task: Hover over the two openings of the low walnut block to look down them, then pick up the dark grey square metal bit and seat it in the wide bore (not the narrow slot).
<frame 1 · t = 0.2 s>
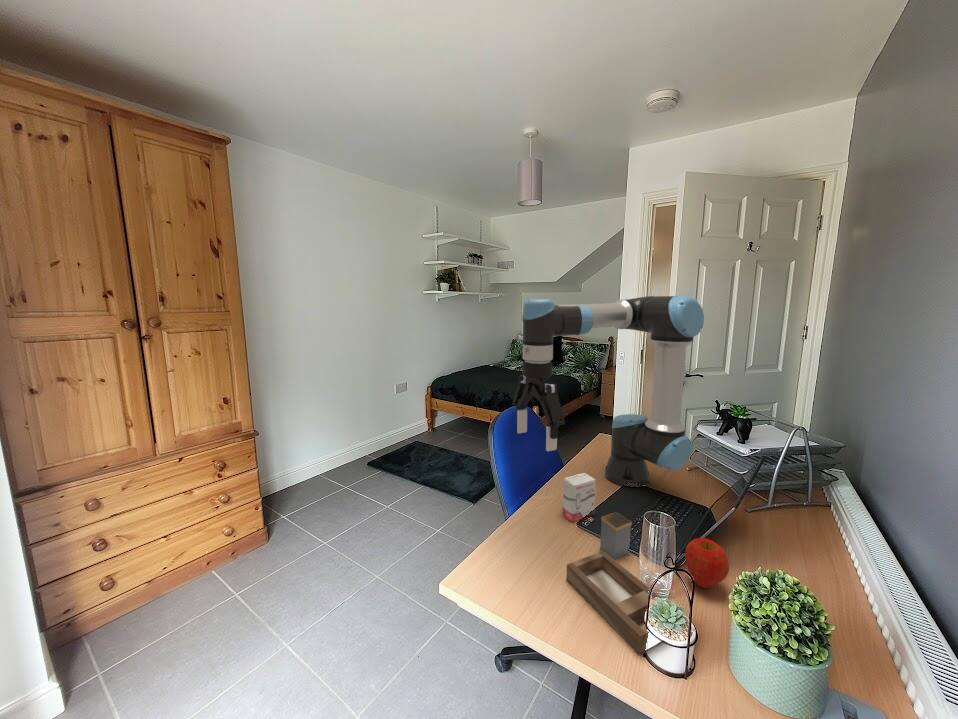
hand: (535, 440, 100), 28 cm above the table, fingers open, 13 cm apart
apple: (703, 586, 87), on the table
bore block: (618, 603, 82), on the table
ink box: (578, 515, 115), on the table
square bit: (614, 551, 99), on the table
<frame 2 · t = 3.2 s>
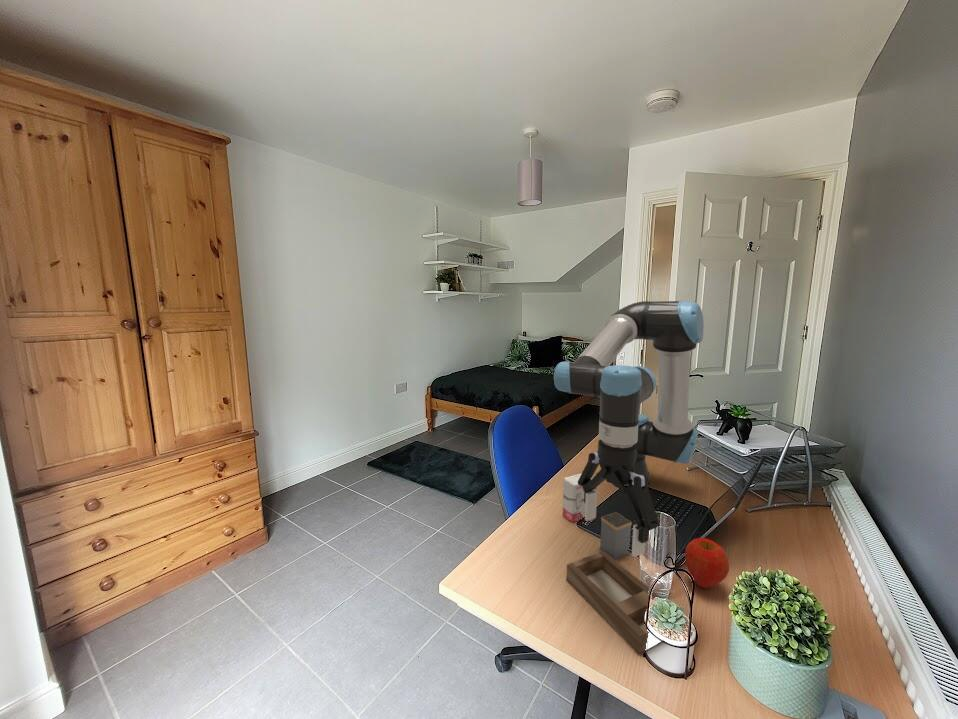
hand: (612, 535, 82), 14 cm above the table, fingers open, 13 cm apart
nothing on the table moved.
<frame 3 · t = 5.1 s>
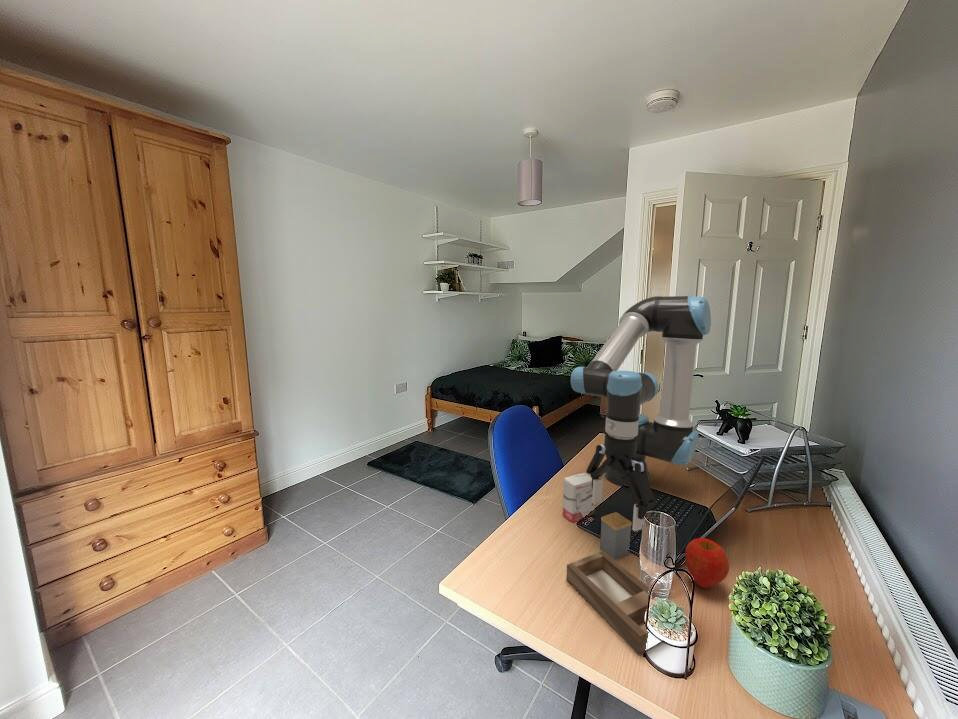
hand: (616, 514, 97), 10 cm above the table, fingers open, 13 cm apart
nothing on the table moved.
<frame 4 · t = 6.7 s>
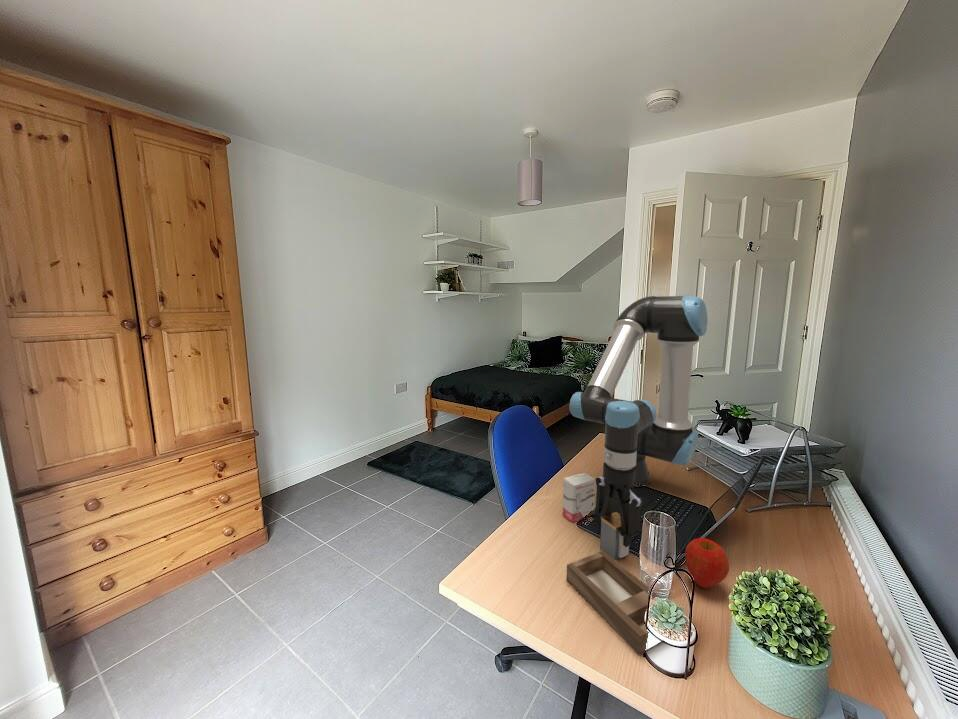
hand: (614, 548, 99), 1 cm above the table, fingers closed on square bit, 5 cm apart
square bit: (614, 551, 99), on the table, touching gripper
everything else where it was.
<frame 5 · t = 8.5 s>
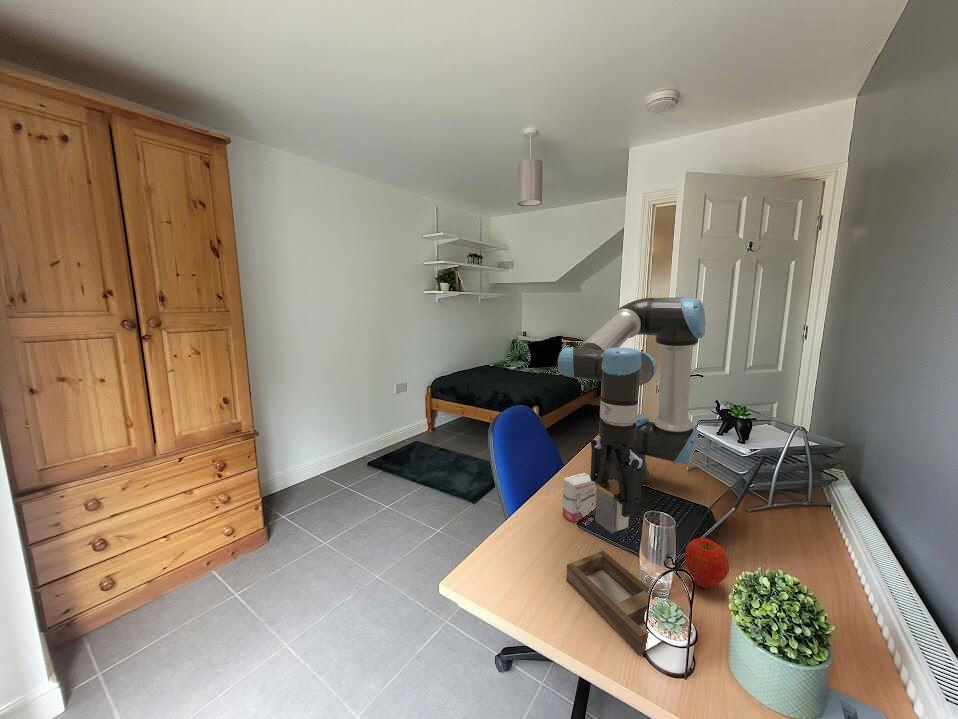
hand: (611, 520, 85), 16 cm above the table, fingers closed on square bit, 5 cm apart
square bit: (611, 524, 85), point 15 cm above the table, touching gripper
everything else where it was.
when the fingers open (3 cm above the table, at t = 10.7 s): square bit drops 2 cm, resting on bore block.
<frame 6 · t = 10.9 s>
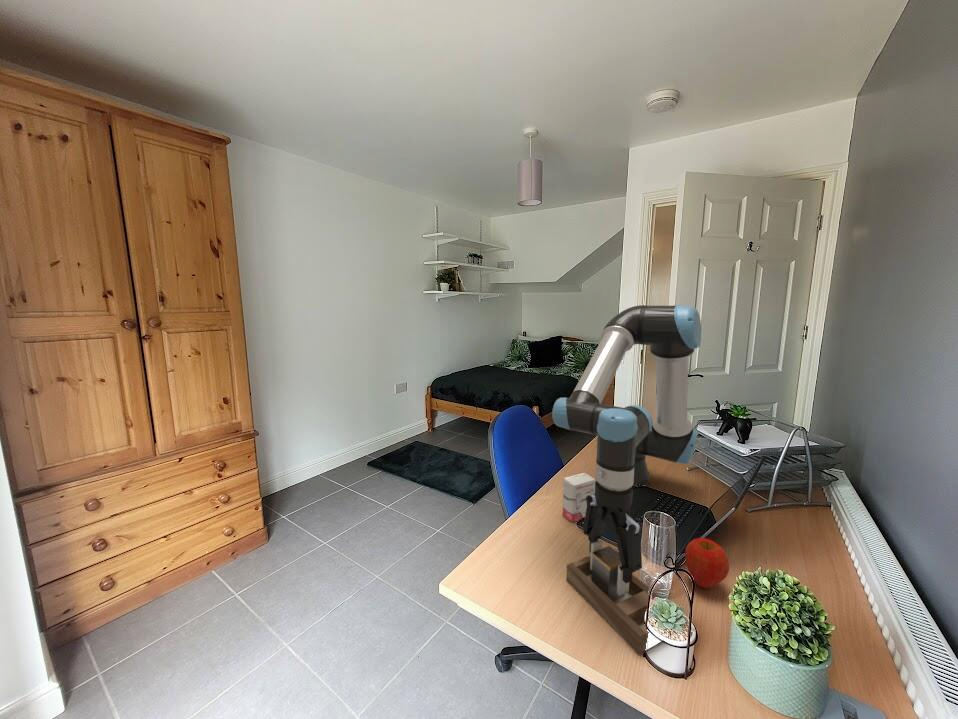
hand: (608, 579, 84), 4 cm above the table, fingers open, 7 cm apart
square bit: (607, 592, 85), resting on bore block
everything else where it was.
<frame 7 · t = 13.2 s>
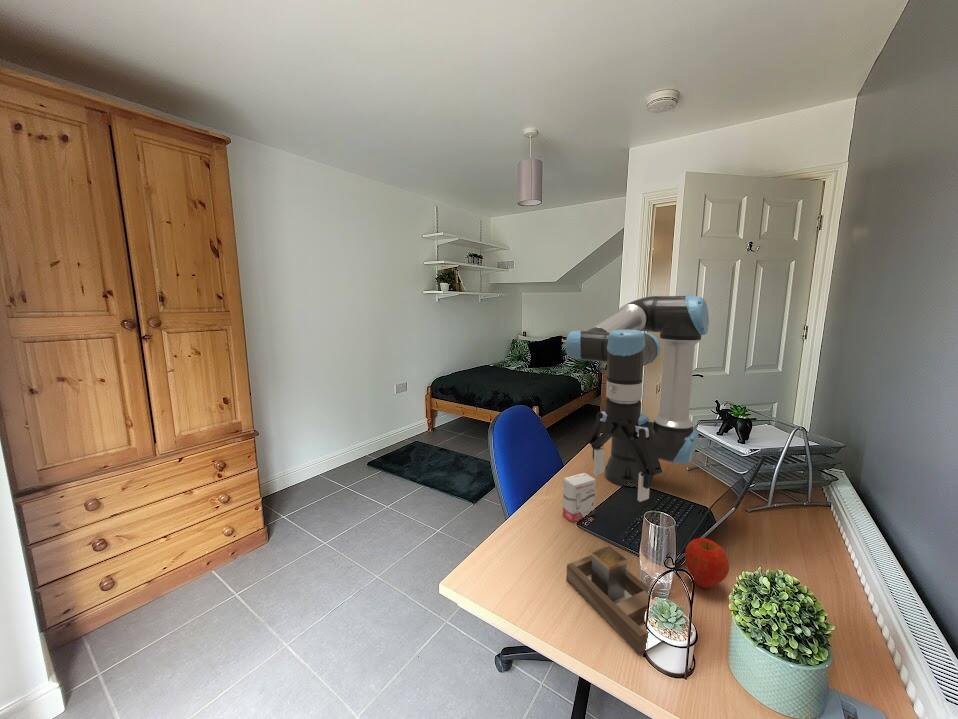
hand: (619, 485, 90), 21 cm above the table, fingers open, 13 cm apart
nothing on the table moved.
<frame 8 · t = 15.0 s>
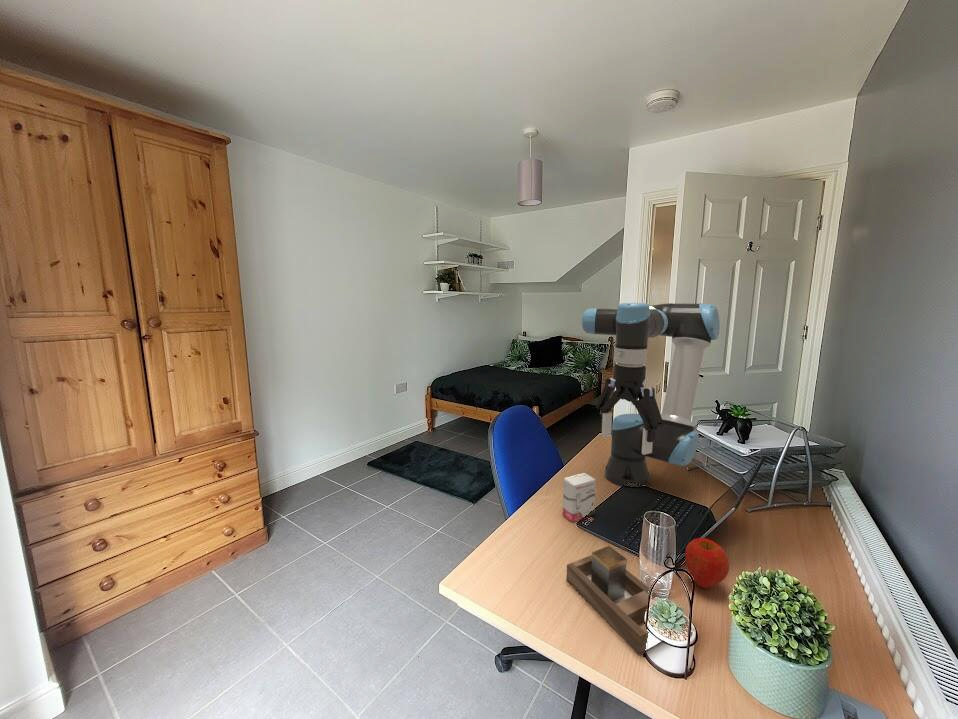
hand: (625, 443, 100), 27 cm above the table, fingers open, 13 cm apart
nothing on the table moved.
at the end: square bit 0.1 cm from the target spot on the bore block, point 0.4 cm above the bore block's base; square bit tilted 0°; the gripper is holding nothing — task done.
